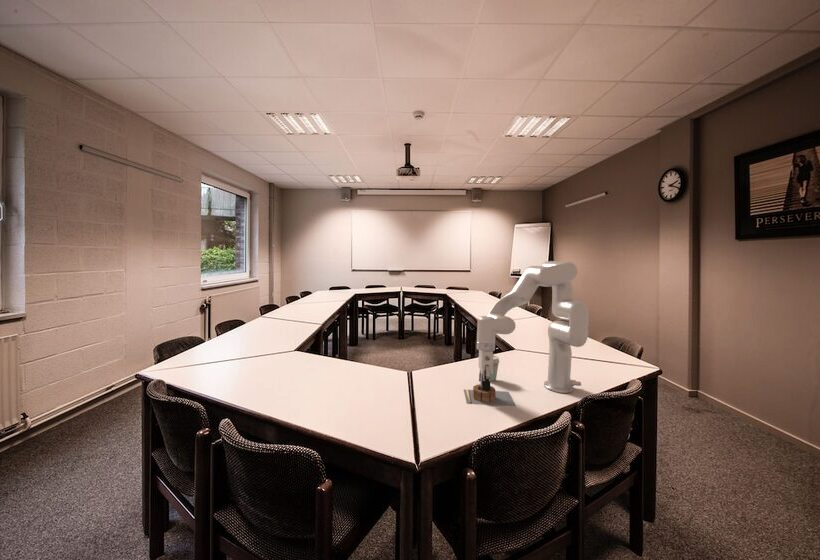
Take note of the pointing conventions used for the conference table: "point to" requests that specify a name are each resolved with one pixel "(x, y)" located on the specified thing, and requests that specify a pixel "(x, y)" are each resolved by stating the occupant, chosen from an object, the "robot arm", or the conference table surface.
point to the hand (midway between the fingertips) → (484, 385)
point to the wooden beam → (481, 382)
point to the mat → (500, 399)
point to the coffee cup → (494, 368)
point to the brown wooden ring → (484, 394)
